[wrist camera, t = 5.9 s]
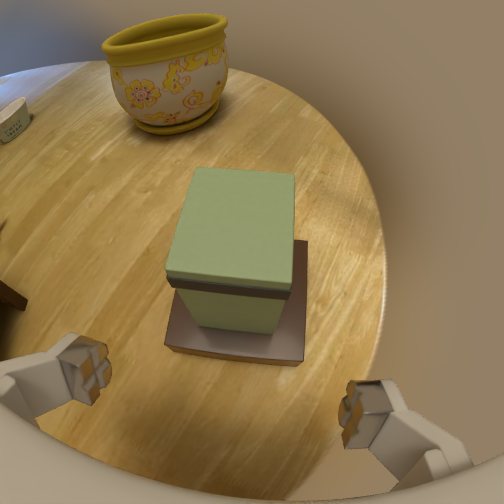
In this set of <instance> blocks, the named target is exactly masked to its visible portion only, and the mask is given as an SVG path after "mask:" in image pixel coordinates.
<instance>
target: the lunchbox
mask: <svg viewBox="0 0 504 504" xmlns="http://www.w3.org/2000/svg"><path fill="white" fill-rule="evenodd" d="M294 215H295V175H294V174H285V173H275V172H264V171H253V170H239V169H224V168H204V167H196V169H195V172H194V175H193V178H192V181H191V184H190V186H189V189H188V192H187V196H186V199H185V202H184V205H183V208H182V211H181V214H180V217H179V221H178V224H177V227H176V231H175V234H174V237H173V241H172V244H171V248H170V251H169V255H168V259H167V262H166V266H165V271H166V272H167V277H166V279H167V280H168V282H169V284H170V285H171V287H173V288H176V290H177V292H178V293H179V295H180V297H181V298H182V300H183V302H184V303H185V305H186V307H187V308H188V310H189V312H190V313H191V315H192V317H193V318H194V320H195V321H196V323H197V325H198V326H203V327H211V328H218V329H226V330H234V331H243V332H252V333H262V334H274V332H275V329H276V326H277V324H278V321H279V318H280V315H281V312H282V310H283V307H284V304H285V301H286V300H289V297H290V294H291V292H292V273H293V249H294Z"/></svg>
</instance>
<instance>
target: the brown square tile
mask: <svg viewBox="0 0 504 504" xmlns="http://www.w3.org/2000/svg"><path fill="white" fill-rule="evenodd" d="M307 263H308V241H304V240H294V249H293V273H292V292H291V294H290V297H289V300H286V301H285V304H284V307H283V310H282V312H281V315H280V318H279V321H278V324H277V326H276V329H275V332H274V334H262V333H252V332H243V331H234V330H226V329H218V328H211V327H203V326H198V325H197V323H196V321H195V320H194V318H193V317H192V315H191V313H190V312H189V310H188V308H187V307H186V305H185V303H184V302H183V300H182V298H181V297H180V295H179V293H178V292H177V290H175V294H174V299H173V303H172V308H171V313H170V317H169V322H168V327H167V332H166V337H165V342H164V345H165V346H167V347H168V348H169V349H171V350H172V351H174V352H179V353H185V354H191V355H197V356H203V357H210V358H217V359H224V360H232V361H240V362H249V363H259V364H270V365H283V366H298V365H299V364H301V363H302V362H303V361H304V348H305V329H306V305H307Z"/></svg>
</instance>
